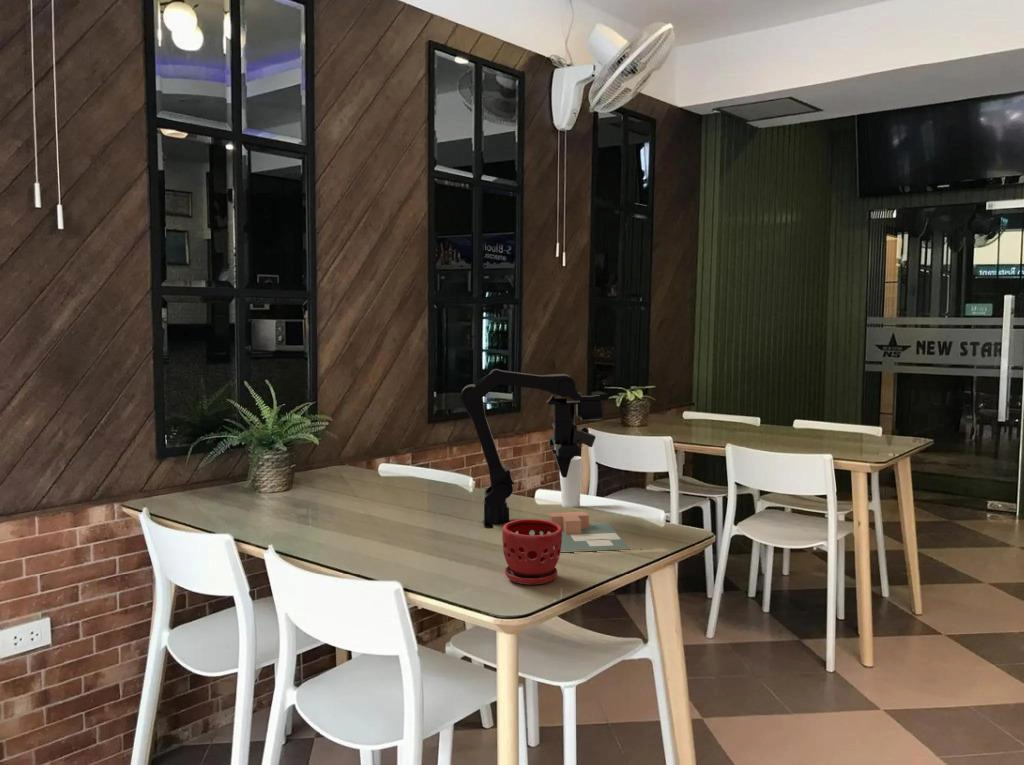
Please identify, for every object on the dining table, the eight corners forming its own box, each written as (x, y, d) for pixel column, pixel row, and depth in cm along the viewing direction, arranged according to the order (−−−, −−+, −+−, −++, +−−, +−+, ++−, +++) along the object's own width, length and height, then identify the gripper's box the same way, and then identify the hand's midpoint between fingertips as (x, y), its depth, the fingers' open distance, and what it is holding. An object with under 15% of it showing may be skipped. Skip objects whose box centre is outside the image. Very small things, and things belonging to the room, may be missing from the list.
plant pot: (493, 585, 184) (493, 530, 182) (515, 567, 196) (514, 516, 195) (551, 591, 179) (551, 536, 178) (569, 573, 191) (569, 521, 190)
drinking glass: (580, 510, 248) (580, 460, 246) (557, 509, 249) (557, 459, 248) (583, 505, 254) (583, 455, 253) (561, 504, 256) (561, 455, 254)
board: (537, 554, 205) (537, 551, 205) (524, 528, 229) (524, 525, 229) (630, 550, 208) (630, 547, 207) (608, 525, 231) (608, 522, 231)
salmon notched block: (554, 534, 219) (554, 521, 219) (549, 525, 228) (549, 513, 228) (592, 533, 221) (592, 520, 220) (585, 524, 229) (585, 511, 229)
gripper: (600, 424, 223) (600, 483, 224) (586, 415, 241) (586, 469, 243) (558, 425, 222) (558, 484, 223) (547, 416, 240) (547, 470, 242)
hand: (564, 476), depth 233 cm, fingers closed
